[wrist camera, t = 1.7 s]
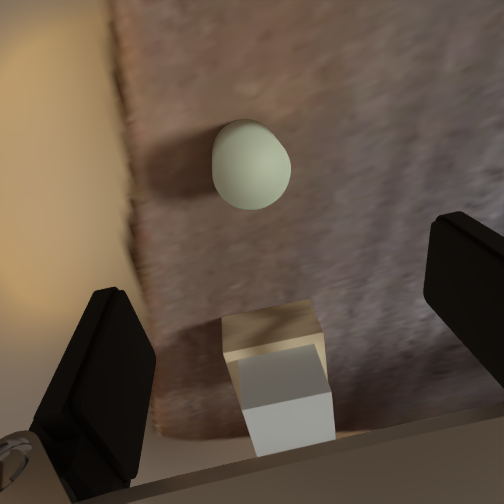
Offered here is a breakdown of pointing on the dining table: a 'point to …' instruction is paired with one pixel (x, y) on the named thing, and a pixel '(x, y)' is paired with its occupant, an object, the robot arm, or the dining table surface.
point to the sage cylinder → (249, 165)
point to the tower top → (286, 400)
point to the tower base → (270, 334)
